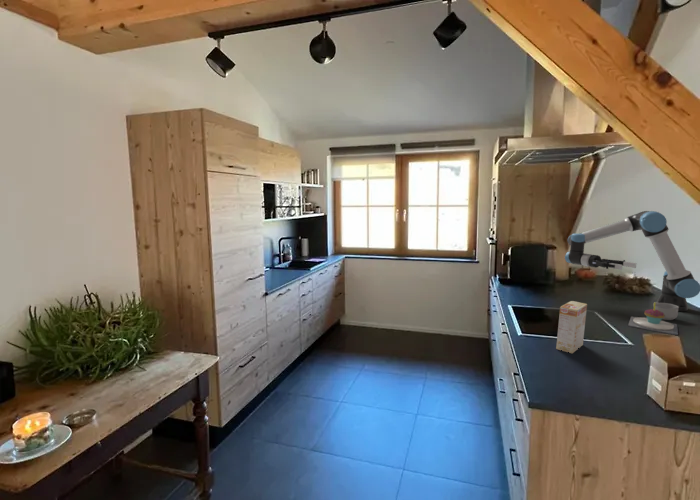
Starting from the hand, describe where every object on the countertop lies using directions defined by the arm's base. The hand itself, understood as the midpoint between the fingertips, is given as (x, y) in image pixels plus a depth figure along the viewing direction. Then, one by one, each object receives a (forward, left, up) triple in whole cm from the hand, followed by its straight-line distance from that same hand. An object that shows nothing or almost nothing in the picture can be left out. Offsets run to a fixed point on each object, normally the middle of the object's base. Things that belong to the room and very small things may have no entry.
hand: (629, 266), depth 216 cm
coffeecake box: (+74, -14, -29) cm, 81 cm away
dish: (+10, +14, -29) cm, 34 cm away
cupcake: (+10, +14, -27) cm, 32 cm away
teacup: (-12, +18, -29) cm, 36 cm away
